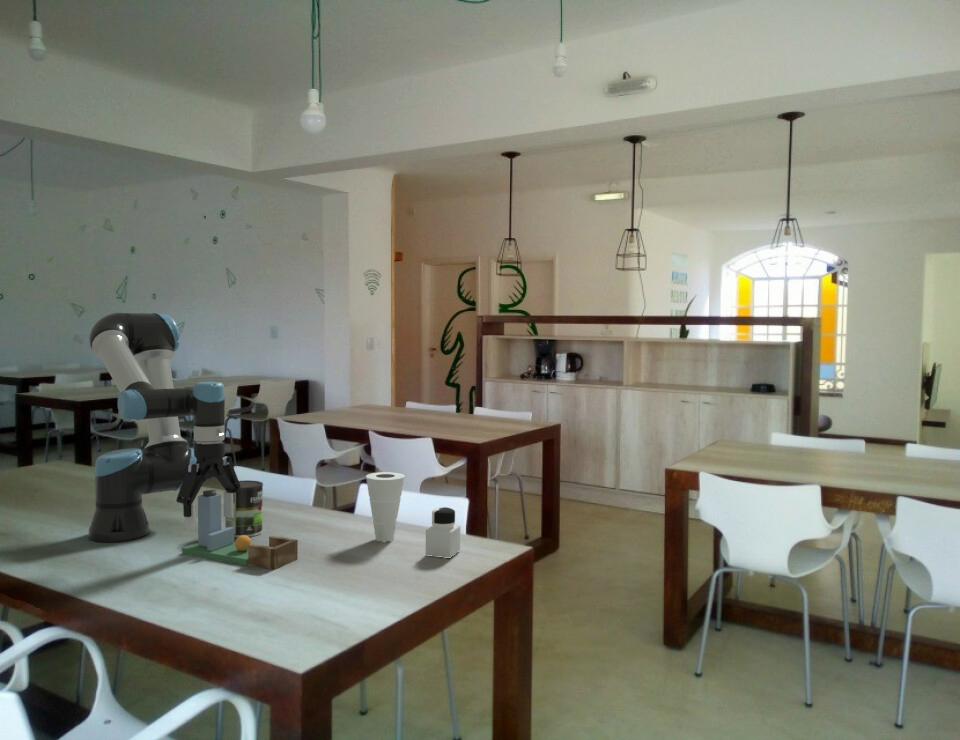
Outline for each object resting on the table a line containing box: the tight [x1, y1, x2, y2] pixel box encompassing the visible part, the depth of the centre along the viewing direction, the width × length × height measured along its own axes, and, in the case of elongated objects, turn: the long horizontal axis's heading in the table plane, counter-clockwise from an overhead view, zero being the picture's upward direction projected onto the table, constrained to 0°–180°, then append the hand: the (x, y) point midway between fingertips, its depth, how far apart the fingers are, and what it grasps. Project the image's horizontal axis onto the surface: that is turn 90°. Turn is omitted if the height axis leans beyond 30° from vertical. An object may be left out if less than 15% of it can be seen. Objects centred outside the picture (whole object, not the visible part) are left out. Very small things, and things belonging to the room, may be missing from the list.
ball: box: [234, 535, 252, 551], centre depth 187 cm, size 4×4×4 cm
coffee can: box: [224, 479, 264, 539], centre depth 208 cm, size 10×10×14 cm
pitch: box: [181, 541, 249, 566], centre depth 189 cm, size 21×10×2 cm, turn 67°
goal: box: [247, 535, 299, 571], centre depth 184 cm, size 8×9×5 cm
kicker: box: [197, 489, 235, 551], centre depth 191 cm, size 7×8×14 cm
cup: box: [365, 471, 406, 542], centre depth 204 cm, size 11×11×18 cm
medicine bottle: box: [425, 506, 461, 558], centre depth 193 cm, size 7×7×12 cm
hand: (210, 522), depth 191 cm, fingers open, 13 cm apart
